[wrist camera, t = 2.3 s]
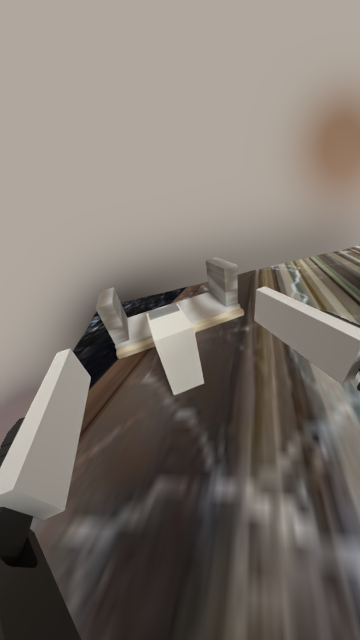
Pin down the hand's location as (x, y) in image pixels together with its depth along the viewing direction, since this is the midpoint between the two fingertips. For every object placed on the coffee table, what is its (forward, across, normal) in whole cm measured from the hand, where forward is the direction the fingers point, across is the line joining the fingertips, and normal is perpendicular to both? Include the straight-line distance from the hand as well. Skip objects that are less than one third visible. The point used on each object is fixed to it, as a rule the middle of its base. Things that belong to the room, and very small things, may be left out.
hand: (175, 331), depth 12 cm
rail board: (+26, +4, -16) cm, 31 cm away
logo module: (+10, +1, -16) cm, 19 cm away
